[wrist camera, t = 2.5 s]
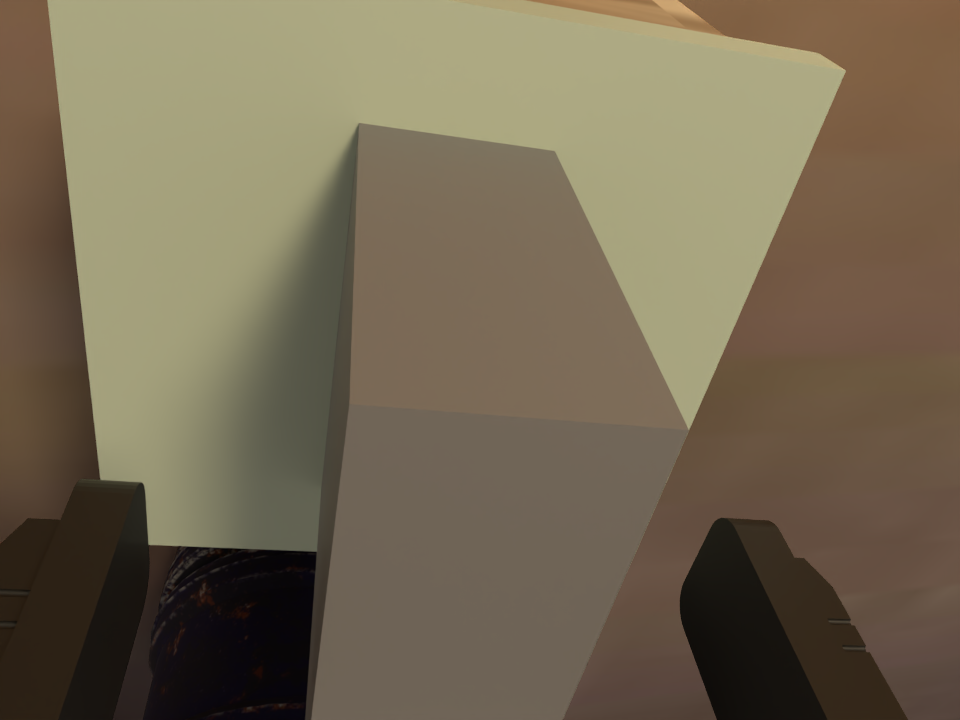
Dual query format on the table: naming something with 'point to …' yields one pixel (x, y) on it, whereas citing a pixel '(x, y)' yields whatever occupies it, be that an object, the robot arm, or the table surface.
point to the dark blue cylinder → (233, 636)
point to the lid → (418, 304)
